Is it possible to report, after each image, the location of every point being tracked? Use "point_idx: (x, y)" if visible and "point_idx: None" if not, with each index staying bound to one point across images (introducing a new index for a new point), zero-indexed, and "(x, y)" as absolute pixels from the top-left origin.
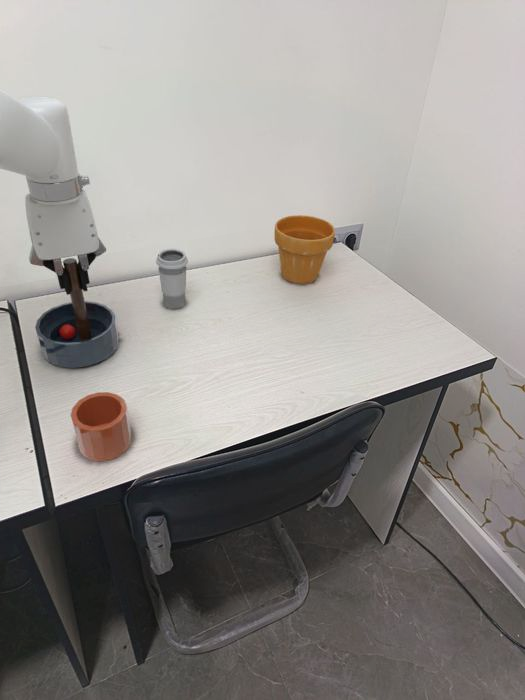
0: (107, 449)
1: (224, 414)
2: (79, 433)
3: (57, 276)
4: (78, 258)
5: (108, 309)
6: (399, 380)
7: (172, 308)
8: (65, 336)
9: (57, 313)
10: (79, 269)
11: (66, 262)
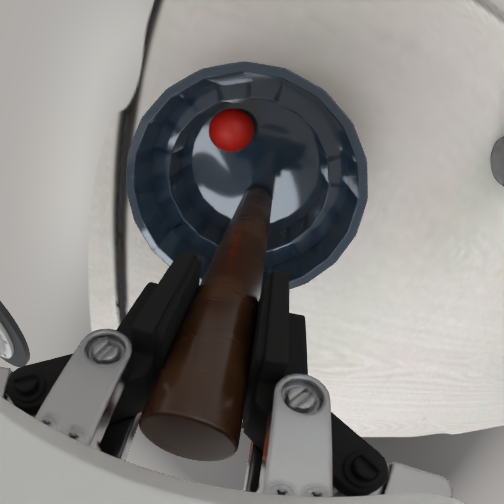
0: None
1: (341, 415)
2: None
3: (128, 313)
4: (268, 431)
5: (361, 187)
6: (478, 426)
7: (494, 176)
8: (218, 148)
9: (219, 78)
10: (249, 401)
11: (159, 442)
